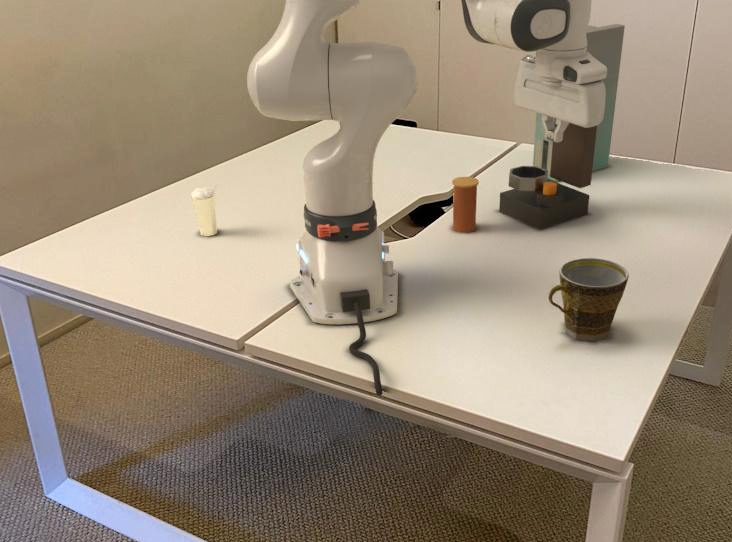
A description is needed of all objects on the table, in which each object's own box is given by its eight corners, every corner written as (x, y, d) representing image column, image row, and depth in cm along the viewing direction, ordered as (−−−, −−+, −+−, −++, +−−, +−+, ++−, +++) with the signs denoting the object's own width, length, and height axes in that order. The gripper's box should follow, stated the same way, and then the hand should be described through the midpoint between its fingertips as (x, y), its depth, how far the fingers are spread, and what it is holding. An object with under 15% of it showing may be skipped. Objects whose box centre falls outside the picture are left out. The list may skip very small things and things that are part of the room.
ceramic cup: (591, 310, 135) (598, 252, 130) (634, 336, 128) (643, 276, 122) (525, 330, 130) (529, 271, 125) (566, 359, 123) (572, 298, 117)
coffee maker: (501, 183, 168) (505, 107, 160) (550, 169, 174) (556, 96, 166) (542, 200, 160) (548, 121, 151) (591, 185, 166) (600, 108, 157)
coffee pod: (479, 231, 163) (481, 184, 158) (454, 234, 162) (455, 186, 157) (473, 222, 167) (474, 175, 162) (448, 224, 167) (449, 177, 161)
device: (583, 158, 198) (598, 20, 181) (608, 166, 192) (625, 25, 176) (531, 172, 190) (541, 30, 174) (555, 182, 185) (568, 36, 168)
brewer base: (499, 211, 172) (500, 182, 168) (546, 197, 177) (548, 169, 174) (541, 230, 163) (543, 200, 159) (589, 215, 168) (593, 186, 165)
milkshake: (219, 238, 164) (212, 189, 159) (193, 237, 165) (185, 187, 160) (227, 229, 168) (220, 180, 162) (202, 228, 169) (194, 179, 163)
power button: (539, 193, 164) (540, 183, 162) (549, 190, 165) (550, 180, 164) (549, 197, 162) (549, 187, 161) (559, 194, 163) (559, 184, 162)
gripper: (508, 55, 156) (504, 130, 163) (588, 76, 141) (580, 157, 149) (533, 50, 158) (528, 124, 166) (614, 70, 144) (605, 150, 152)
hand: (553, 140), depth 158 cm, fingers closed
